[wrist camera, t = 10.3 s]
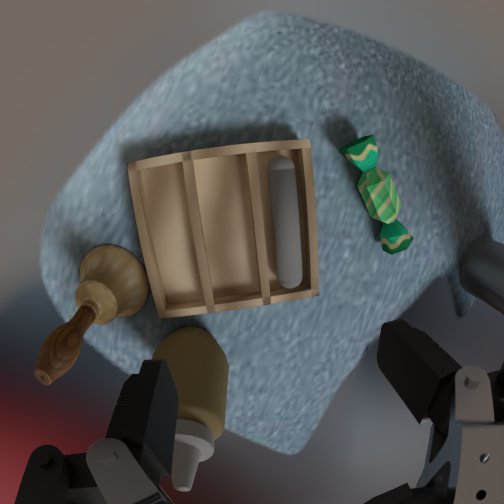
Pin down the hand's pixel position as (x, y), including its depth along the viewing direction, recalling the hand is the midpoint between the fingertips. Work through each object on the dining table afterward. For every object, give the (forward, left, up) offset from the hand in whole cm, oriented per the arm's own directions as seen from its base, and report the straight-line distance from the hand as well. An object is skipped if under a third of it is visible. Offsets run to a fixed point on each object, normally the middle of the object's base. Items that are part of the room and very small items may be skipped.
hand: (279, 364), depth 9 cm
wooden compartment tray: (+1, -1, -19) cm, 19 cm away
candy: (-15, -3, -19) cm, 24 cm away
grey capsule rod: (-4, -1, -18) cm, 18 cm away
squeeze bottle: (+7, +12, -19) cm, 23 cm away
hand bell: (+14, +3, -19) cm, 24 cm away
